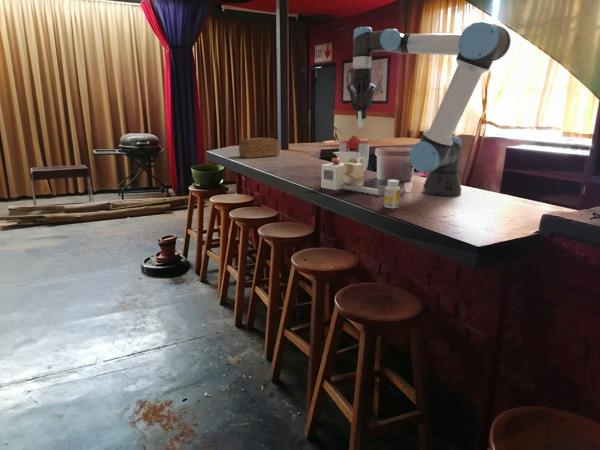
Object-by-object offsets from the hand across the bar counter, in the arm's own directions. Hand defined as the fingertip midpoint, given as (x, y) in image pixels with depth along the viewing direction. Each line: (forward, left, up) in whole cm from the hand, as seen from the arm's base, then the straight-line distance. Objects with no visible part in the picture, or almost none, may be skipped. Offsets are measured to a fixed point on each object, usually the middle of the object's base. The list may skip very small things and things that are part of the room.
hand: (361, 126), depth 185 cm
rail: (-8, +8, -26) cm, 28 cm away
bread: (+109, -39, -26) cm, 119 cm away
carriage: (-3, +8, -24) cm, 25 cm away
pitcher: (+11, -9, -26) cm, 30 cm away
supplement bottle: (-31, +22, -26) cm, 46 cm away
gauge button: (+6, +8, -21) cm, 23 cm away
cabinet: (+6, +8, -26) cm, 28 cm away
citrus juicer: (+20, -24, -26) cm, 41 cm away
